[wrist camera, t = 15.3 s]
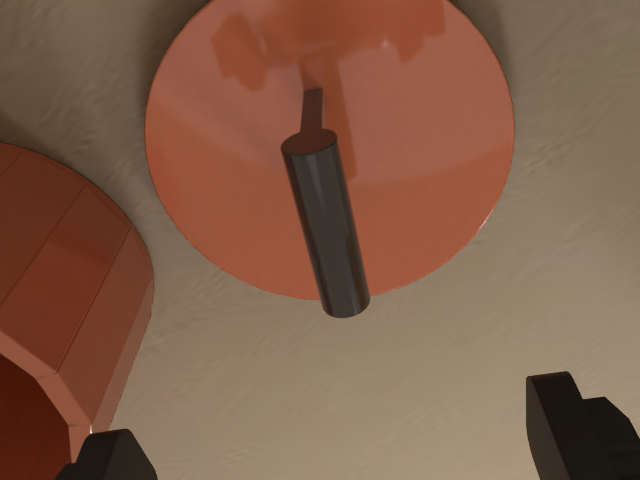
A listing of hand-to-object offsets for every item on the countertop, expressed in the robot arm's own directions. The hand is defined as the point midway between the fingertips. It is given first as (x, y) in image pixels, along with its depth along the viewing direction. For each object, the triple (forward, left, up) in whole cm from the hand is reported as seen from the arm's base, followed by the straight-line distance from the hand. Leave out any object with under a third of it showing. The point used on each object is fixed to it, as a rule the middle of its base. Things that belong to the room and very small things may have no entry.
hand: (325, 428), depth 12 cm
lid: (0, 0, -13) cm, 13 cm away
